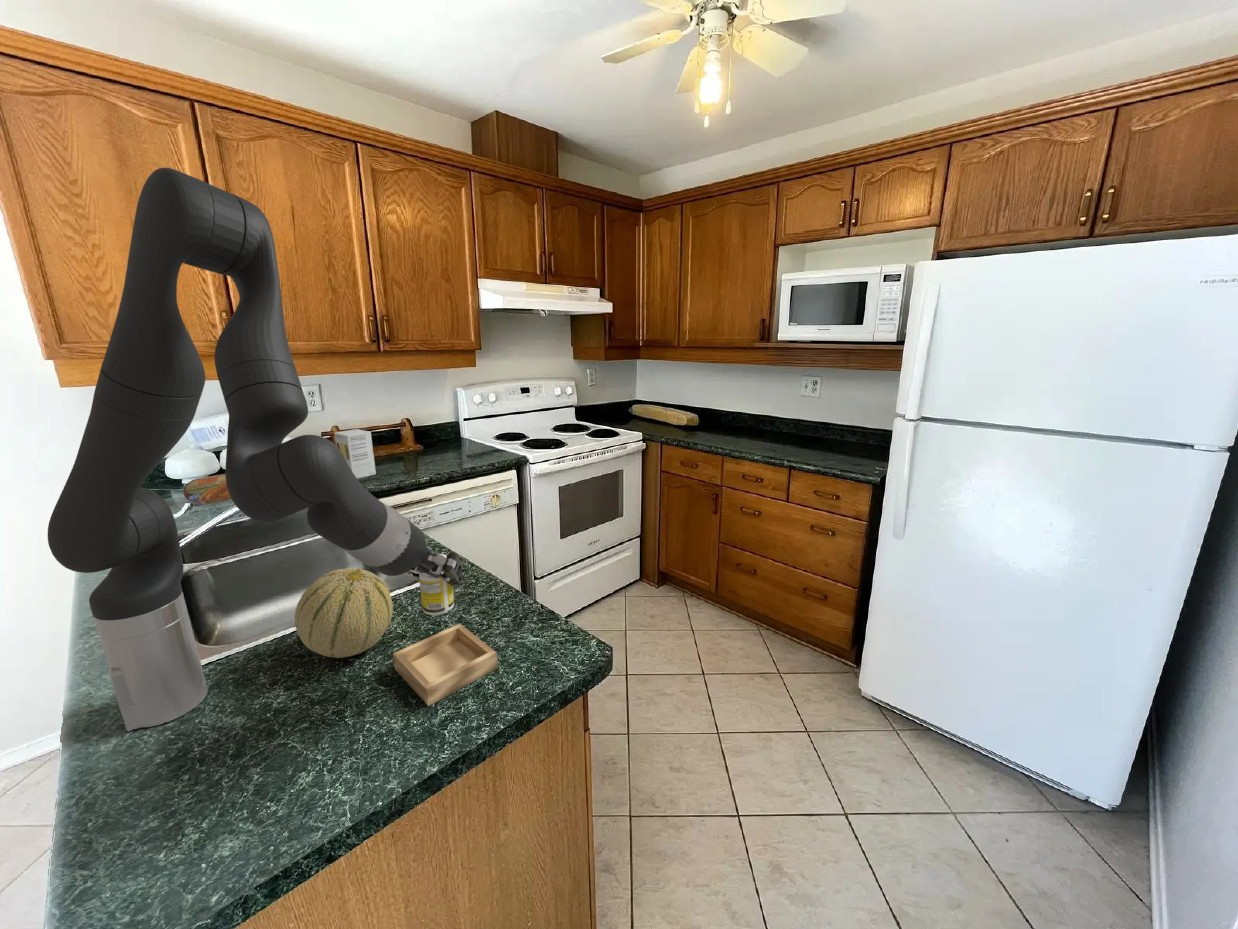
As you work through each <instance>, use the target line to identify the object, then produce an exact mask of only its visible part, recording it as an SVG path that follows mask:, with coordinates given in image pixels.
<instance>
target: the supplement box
mask: <svg viewBox="0 0 1238 929" xmlns="http://www.w3.org/2000/svg"><path fill="white" fill-rule="evenodd" d="M334 442H335V445H336V446H337V447H338V448H339V450H340V451H341V453H342V454H343V456H344V458H345V459H346V461H347V463H348V465H349V467H350V469H351V470H352V472H353V473H354V475H355V476H356V478H357V479H358V480H359V479H362V478H365V477H370V476H374V475H377V472H376V462H375V455H374V448H373V439H372V431H368V430H362V429H359V428H356V429H347V430H342V431H336V432H334Z"/></svg>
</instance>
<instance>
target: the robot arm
mask: <svg viewBox="0 0 1238 929" xmlns="http://www.w3.org/2000/svg"><path fill="white" fill-rule="evenodd" d="M277 259H278V258H277V251H276V246H275V240H274V236H273V231H272V228H271V225H270V223H269V220H268V218H267V216H266V214H265V213H264V212H263V211H262V210H261V209H260V207H258V206H257V205H256V204H254V203H252V202H251V201H248V200H247V199H245V198H243V197H240V196H239V195H236V194H234V193H231V192H229V191H227V190H224V189H223V188H219V187H218V186H214V185H212V184H210V183H208V182H205V181H203V180H201V179H199V178H197V177H194V176H192V175H189V174H187V173H184V172H181V171H179V170H178V169H175V168H174V169H173V168H171V167H160V168H156V169H155V170H154V171H153V172H152V173H150V175H149V176H148V177H147V178H146V180H145V181H144V184H143V186H142V189H141V191H140V194H139V197H138V200H137V204H136V209H135V215H134V220H133V226H132V232H131V238H130V245H129V251H128V258H127V264H126V271H125V279H124V283H123V289H122V294H121V298H120V303H119V306H118V310H117V314H116V319H115V322H114V325H113V329H112V332H111V335H110V338H109V341H108V344H107V346H106V347H107V348H106V351H105V354H104V357H103V360H102V363H101V366H100V370H99V374H98V377H97V381H96V385H95V389H94V393H93V397H92V398H93V399H92V402H91V408H90V411H89V416H88V420H87V422H86V425H85V428H84V432H83V435H82V438H81V441H80V444H79V447H78V451H77V455H76V458H75V459H74V462H73V465H72V468H71V471H70V473H69V475H68V477H67V480H66V482H65V484H64V486H63V489H62V491H61V493H60V495H59V497H58V499H57V502H56V503H55V506H54V507H53V509H52V512H51V516H50V519H49V521H48V526H47V543H48V546H49V549H50V551H51V554H52V556H53V558H55V560H56V561H57V562H58V563H59V564H60V565H61V566H62V567H64V568H65V569H68V570H70V571H71V572H76V573H84V574H90V573H91V574H92V573H98V572H102V571H106V570H109V569H110V571H109V572H108V574H107V576H106V577H105V578H104V579H103V580H102V581H101V582H100V583H99V584H98V585H97V586H96V587H95V589H93V591H92V592H91V593H90V595H89V598H88V600H89V601H88V602H89V607H90V611H91V613H92V616H93V619H94V623H95V624H94V625H95V626H96V629H97V632H98V636H99V639H100V642H101V646H102V650H103V652H104V655H105V660H106V662H107V664H108V674H109V679H110V682H111V685H112V689H113V692H114V695H115V697H116V701H117V704H118V707H119V711H120V713H121V717H122V719H123V723H124V726H125V729H126V732H127V731H128V732H127V733H129V731H130V732H132V731H134V730H133V729H135V730H136V729H141V728H142V727H143V728H150V727H155V726H160V725H163V724H166V723H168V722H171V721H173V720H177V719H178V718H180V717H182V716H184V715H185V714H187V713H189V712H191V711H192V710H193V709H194V708H196V707H198V706H199V705H200V704H201V703H202V702H203V701H204V700H205V698H206V697H207V695H208V692H209V691H208V686H207V682H206V677H205V675H204V670H203V665H202V662H201V658H200V655H199V654H200V653H199V651H198V647H197V643H196V638H195V635H194V630H193V628H192V623H191V619H190V615H189V612H188V607H187V604H186V600H185V596H184V592H183V587H182V584H181V583H182V582H181V581H182V578H183V574H184V561H183V556H182V550H181V544H180V538H179V531H178V526H177V523H176V520H175V516H174V514H173V511H172V509H171V508H170V506H169V504H168V503H167V501H166V500H165V499H164V498H163V497H162V496H160V494H158V493H157V492H155V491H153V490H151V489H149V488H147V487H143V486H142V485H143V484H144V482H145V481H146V479H147V478H148V477H149V475H150V474H151V473H152V471H154V469H155V468H156V467H157V466H158V464H160V463H161V462H162V460H163V459H165V457H167V455H168V454H169V453H170V451H172V450H173V448H174V447H175V446H176V445H177V444H178V443H179V441H180V440H181V439H182V438H183V436H184V435H185V434H186V433H187V431H188V429H189V428H190V426H191V424H192V422H193V420H194V418H195V416H196V413H197V408H198V406H199V404H200V400H201V397H202V395H203V391H204V388H205V384H206V377H207V376H206V372H205V368H204V364H203V361H202V359H201V356H200V354H199V352H198V349H197V347H196V345H195V343H194V340H193V339H192V337H191V335H190V333H189V331H188V329H187V328H186V325H185V323H184V321H183V317H182V315H181V313H180V309H179V304H178V298H177V296H178V295H177V292H178V291H177V285H178V278H179V273H180V269H181V267H182V265H183V264H185V265H188V266H191V267H193V268H194V267H195V268H197V269H202V270H205V271H208V272H211V273H215V274H219V275H222V276H228V277H229V278H231V280H232V281H233V283H234V284H235V287H236V290H237V292H238V296H239V300H238V304H237V306H236V308H235V310H234V312H233V314H232V315H231V317H230V318H229V320H228V322H227V323H226V324H225V326H224V328H223V329H222V331H221V333H220V335H219V336H218V339H217V341H216V346H215V349H214V365H215V370H216V376H217V380H218V382H219V386H220V390H221V392H222V396H223V400H224V403H225V407H226V409H227V413H228V424H227V425H228V426H227V438H226V439H227V441H226V452H225V453H226V455H225V465H224V466H225V472H224V474H225V477H226V484H227V489H228V492H229V494H230V497H231V499H230V500H231V501H232V502H233V504H234V505H235V506H236V507H237V509H238V510H239V511H240V512H241V513H242V514H244V515H245V516H246V517H247V518H250V519H251V520H253V521H257V522H261V523H271V522H277V521H279V520H283V519H284V518H288V517H290V516H292V515H294V514H296V513H298V512H301V511H303V510H306V509H307V510H306V511H307V512H306V518H307V519H306V520H307V524H308V527H310V529H311V530H312V531H313V533H315V534H317V535H318V536H319V537H321V538H323V539H325V540H326V541H328V542H330V543H331V544H334V545H335V546H337V547H338V548H341V550H343V551H345V552H346V553H347V554H348V555H349V556H351V557H352V558H354V559H356V560H357V561H359V562H361V563H362V564H364V565H365V566H366V565H367V566H368V567H370V568H371V569H373V570H375V571H377V572H379V573H381V574H383V575H385V576H389V577H398V576H401V575H406V576H408V577H413V578H414V577H415V579H418V580H419V574H422V575H425V576H427V577H429V578H440V579H442V580H443V581H445V582H447V583H448V584H450V585H451V586H453V588H454V587H455V588H458V587H459V586H460V585H461V583H462V580H463V577H464V575H463V573H462V571H463V568H464V565H463V563H462V561H461V560H460V559H459V556H458V555H457V554H456V553H453V552H452V553H451V552H448V553H447V555H445V556H446V558H445V557H444V556H443V555H444V554H443V555H441V554H442V553H439V552H437V551H434V550H433V548H432V547H430V546H428V545H427V540H426V537H425V534H424V532H423V531H422V529H420V527H418V526H417V525H416V524H414V523H413V522H412V521H410V520H409V519H408V518H406V517H405V516H404V515H402V514H401V513H400V512H399V511H397V509H395V508H393V507H392V506H390V505H388V504H386V503H384V502H382V501H381V500H379V499H378V498H377V497H376V496H374V495H373V494H372V493H371V492H370V491H368V490H367V489H365V487H364V486H363V485H362V483H361V482H360V481H359V478H358V479H357V478H356V476H355V475H354V473H353V472H352V470H351V469H350V467H349V465H348V463H347V461H346V459H345V458H344V456H343V454H342V453H341V451H340V450H339V448H338V447H337V446H336V443H334V442H333V441H331V440H330V439H328V438H325V437H324V436H319V435H315V434H303V435H299V436H297V437H293V438H291V439H289V440H287V441H284V440H285V438H287V436H289V434H290V433H292V432H293V431H295V429H297V428H298V427H299V426H301V425H302V424H303V423H305V421H306V420H307V418H308V415H309V407H308V402H307V398H306V396H305V393H304V390H303V386H302V383H301V381H300V377H299V375H298V370H297V369H296V366H295V365H296V364H295V363H294V359H293V356H292V352H291V349H290V345H289V341H288V338H287V332H286V327H285V326H286V325H285V316H284V309H283V308H284V306H283V296H282V290H281V282H280V275H279V274H280V272H279V266H278V260H277ZM283 441H284V442H283ZM431 569H432V570H431ZM441 569H442V570H441ZM430 570H431V572H430ZM441 572H444V573H443V574H442V573H441ZM165 722H166V723H165ZM131 730H132V731H131Z"/></svg>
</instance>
